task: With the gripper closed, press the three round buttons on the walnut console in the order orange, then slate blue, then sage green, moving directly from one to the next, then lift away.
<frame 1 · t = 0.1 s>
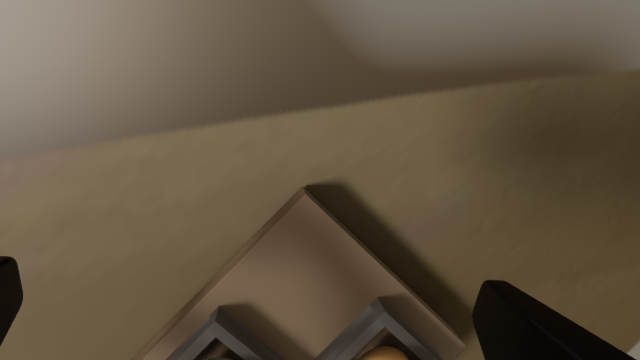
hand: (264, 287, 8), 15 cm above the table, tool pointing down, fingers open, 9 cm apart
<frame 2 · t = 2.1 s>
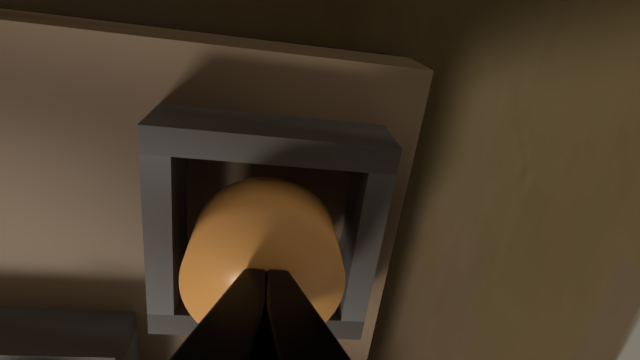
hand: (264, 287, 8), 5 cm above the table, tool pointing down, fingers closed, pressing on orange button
console: (169, 330, 15), on the table
orange button: (264, 261, 9), point 4 cm above the table, slide at 0.1 cm, touching gripper
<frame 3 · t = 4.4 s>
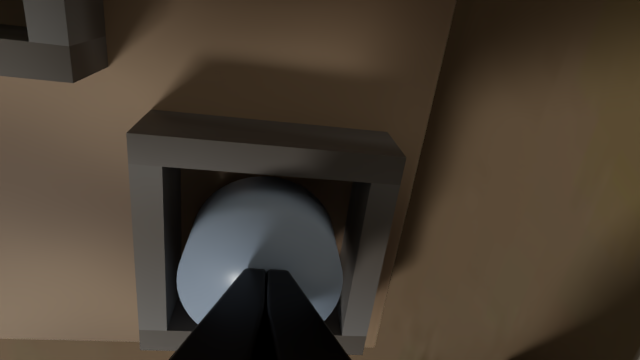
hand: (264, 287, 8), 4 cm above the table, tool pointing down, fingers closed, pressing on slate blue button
slate blue button: (262, 260, 9), point 4 cm above the table, slide at 0.6 cm, touching gripper
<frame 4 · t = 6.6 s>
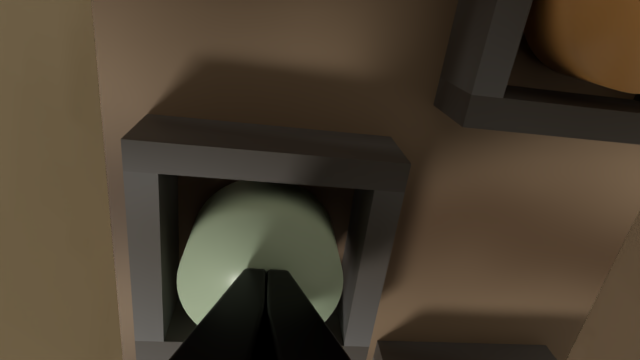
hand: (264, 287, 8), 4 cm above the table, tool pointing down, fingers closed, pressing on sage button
console: (370, 200, 12), on the table
sage button: (263, 261, 9), point 3 cm above the table, slide at 0.9 cm, touching gripper
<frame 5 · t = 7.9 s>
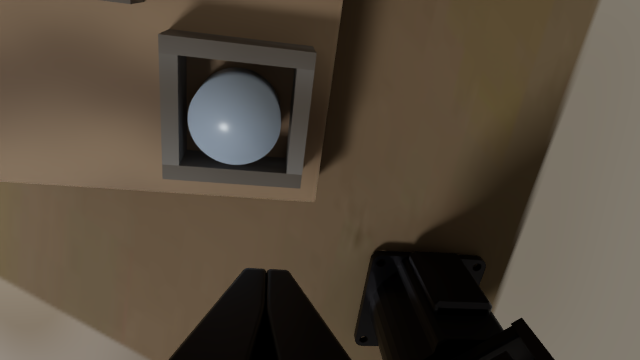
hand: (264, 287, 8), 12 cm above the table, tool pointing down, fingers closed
slate blue button: (236, 116, 15), point 3 cm above the table, slide at 1.0 cm
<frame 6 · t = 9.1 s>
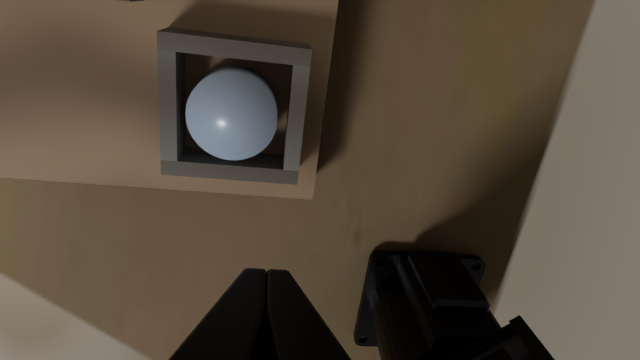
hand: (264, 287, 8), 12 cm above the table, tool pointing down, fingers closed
slate blue button: (234, 112, 16), point 3 cm above the table, slide at 1.0 cm
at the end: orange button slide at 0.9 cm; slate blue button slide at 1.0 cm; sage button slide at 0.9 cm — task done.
